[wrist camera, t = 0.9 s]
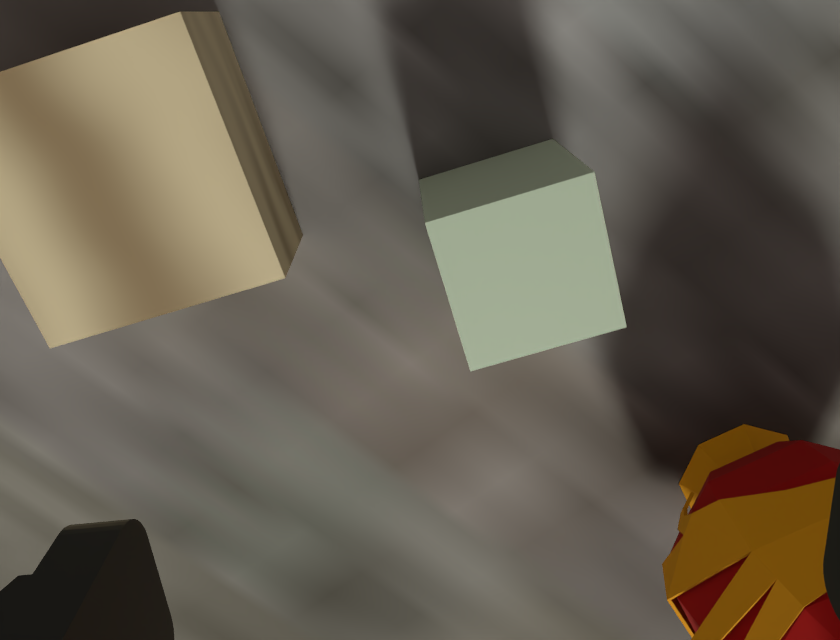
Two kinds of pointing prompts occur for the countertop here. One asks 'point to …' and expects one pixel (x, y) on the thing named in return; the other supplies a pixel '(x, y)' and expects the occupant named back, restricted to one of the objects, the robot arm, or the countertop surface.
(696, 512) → the potion bottle
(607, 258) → the sage block
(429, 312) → the countertop surface
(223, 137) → the oak block
